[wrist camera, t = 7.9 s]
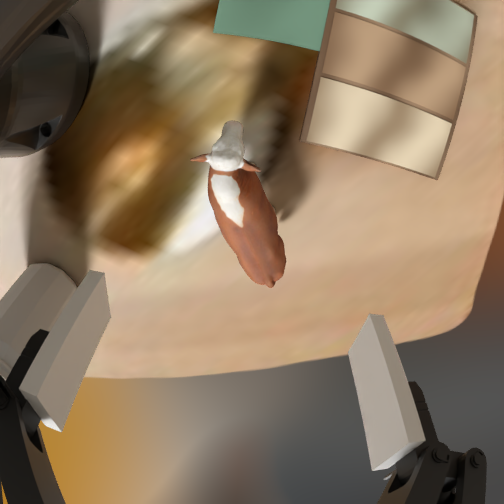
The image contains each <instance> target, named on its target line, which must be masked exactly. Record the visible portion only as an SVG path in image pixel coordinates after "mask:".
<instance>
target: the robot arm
mask: <svg viewBox="0 0 504 504" xmlns="http://www.w3.org/2000/svg"><path fill="white" fill-rule="evenodd" d="M77 1H79V0H0V158H6V157H23V156H27V155H30V154H33V153H35V152H37V151H39V150H41V149H43V148H45V147H47V146H49V145H51V144H52V143H54V142H55V141H56V140H58V139H59V138H60V137H61V136H62V135H63V134H64V133H65V132H66V130H67V129H68V128H69V127H70V125H71V124H72V122H73V121H74V119H75V117H76V115H77V114H78V111H79V109H80V107H81V105H82V102H83V99H84V96H85V93H86V88H87V84H88V77H89V52H88V46H87V42H86V38H85V36H84V33H83V31H82V29H81V27H80V26H79V24H78V23H77V21H76V20H75V19H74V18H73V17H72V16H71V15H69V14H68V13H67V12H65V11H67V10H68V9H69V8H70V7H71V6H72V5H74V4H75V3H76V2H77ZM110 318H111V314H110V308H109V302H108V295H107V288H106V281H105V273H102V272H97V271H93V270H89V272H88V273H87V275H86V276H85V278H84V279H83V281H82V282H81V284H80V285H79V286H78V288H77V289H76V291H75V293H74V294H73V296H72V297H71V299H70V300H69V302H68V303H67V305H66V306H65V308H64V310H63V311H62V313H61V314H60V316H59V318H58V319H57V321H56V322H55V324H54V326H53V327H52V329H51V331H50V332H49V331H46V330H43V329H39V330H38V331H37V332H36V333H35V334H33V335H32V336H31V337H30V339H29V341H28V342H27V344H26V346H25V348H24V349H23V351H22V352H21V356H19V358H18V359H17V361H16V363H15V365H14V366H13V368H12V370H11V372H10V374H9V375H8V377H7V379H6V381H5V380H4V378H3V377H2V376H1V375H0V504H3V499H2V487H1V482H2V486H3V489H4V493H5V496H6V499H7V502H8V504H65V501H64V499H63V496H62V494H61V491H60V489H59V486H58V484H57V481H56V478H55V476H54V473H53V470H52V467H51V464H50V461H49V458H48V455H47V452H46V448H45V445H44V442H43V439H42V435H41V431H40V429H39V426H38V425H39V422H40V420H42V422H43V423H44V424H45V426H48V427H50V428H52V429H55V430H57V431H60V432H62V431H63V428H64V425H65V422H66V419H67V417H68V414H69V412H70V409H71V407H72V404H73V401H74V399H75V397H76V394H77V392H78V389H79V387H80V384H81V382H82V380H83V377H84V375H85V373H86V370H87V368H88V366H89V364H90V361H91V359H92V357H93V355H94V352H95V350H96V348H97V346H98V344H99V341H100V339H101V337H102V335H103V333H104V331H105V329H106V327H107V324H108V322H109V320H110ZM348 354H349V358H350V363H351V367H352V371H353V375H354V380H355V385H356V389H357V393H358V398H359V403H360V408H361V413H362V418H363V423H364V428H365V434H366V439H367V445H368V450H369V456H370V462H371V468H372V470H380V469H387V468H389V467H391V466H392V465H393V464H395V463H396V468H397V469H396V470H394V471H393V472H391V473H389V474H388V475H387V476H386V477H385V478H384V480H387V479H388V478H390V479H389V481H388V484H387V485H386V487H385V489H384V491H383V493H382V495H381V497H380V499H379V501H378V503H377V504H485V492H486V464H487V463H486V457H485V455H484V453H483V452H482V451H481V450H480V449H478V448H472V449H470V450H468V451H467V452H466V453H460V452H454V451H450V450H449V448H448V447H447V446H446V445H445V444H444V443H441V442H439V441H438V438H437V435H436V432H435V429H434V425H433V423H432V419H431V416H430V413H429V411H428V407H427V404H426V403H425V398H424V395H423V392H422V390H421V389H420V387H419V386H418V385H417V383H416V382H407V378H406V375H405V372H404V370H403V367H402V364H401V361H400V358H399V356H398V353H397V350H396V347H395V344H394V342H393V339H392V336H391V334H390V331H389V329H388V326H387V324H386V321H385V318H384V316H383V315H376V314H369V315H368V317H367V319H366V321H365V323H364V325H363V327H362V328H361V330H360V332H359V334H358V336H357V337H356V339H355V341H354V343H353V344H352V346H351V348H350V350H349V351H348ZM455 488H456V493H455Z"/></svg>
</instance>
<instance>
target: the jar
mask: <svg viewBox="0 0 504 504" xmlns="http://www.w3.org/2000/svg"><path fill="white" fill-rule="evenodd" d="M76 289H77V286H76V284H75V282H74V281H73V280H72V279H71V278H70V277H69V276H68V275H67V274H66V273H65V272H64V271H63V270H61V269H59V268H57V267H55V266H53V265H51V264H46V263H41V264H30V265H29V267H28V268H27V269H26V270H25V271H24V272H23V274H22V275H21V276H20V277H19V278H18V279H17V281H16V282H15V283H14V284H13V285H12V287H11V288H10V289H9V290H8V292H7V293H6V294H5V295H4V297H3V298H2V299H1V300H0V375H1V376H2V377H3V378H4V380H5V381H6V379H7V377H8V375H9V374H10V372H11V370H12V368H13V366H14V365H15V363H16V361H17V359H18V358H19V356H21V352H22V351H23V349H24V348H25V346H26V344H27V342H28V341H29V339H30V337H31V336H32V335H33V334H35V333H36V332H37V331H38V330H39V329H43V330H46V331H49V332H50V331H51V329H52V327H53V326H54V324H55V322H56V321H57V319H58V318H59V316H60V314H61V313H62V311H63V310H64V308H65V306H66V305H67V303H68V302H69V300H70V299H71V297H72V296H73V294H74V293H75V291H76Z"/></svg>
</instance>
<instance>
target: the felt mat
mask: <svg viewBox="0 0 504 504" xmlns="http://www.w3.org/2000/svg"><path fill="white" fill-rule="evenodd" d="M329 4H330V0H220V1H219V6H218V10H217V15H216V20H215V25H214V30H213V33H220V34H229V35H237V36H244V37H251V38H258V39H264V40H270V41H275V42H280V43H285V44H290V45H295V46H299V47H304V48H308V49H312V50H316V51H320V47H321V42H322V38H323V33H324V28H325V23H326V18H327V14H328V9H329Z"/></svg>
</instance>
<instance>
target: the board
mask: <svg viewBox="0 0 504 504" xmlns="http://www.w3.org/2000/svg"><path fill="white" fill-rule="evenodd" d="M476 24H477V15H475V14H473V13H472V12H470V11H469V10H467V9H466V8H464V7H462V6H461V5H459V4H457V3H456V2H454V1H452V0H330V4H329V9H328V14H327V18H326V23H325V28H324V33H323V38H322V42H321V47H320V51H319V54H318V58H317V63H316V68H315V72H314V77H313V81H312V86H311V91H310V95H309V100H308V104H307V108H306V113H305V117H304V122H303V126H302V131H301V135H300V139H299V141H300V142H304V143H308V144H313V145H317V146H322V147H326V148H330V149H334V150H338V151H342V152H346V153H350V154H354V155H357V156H361V157H365V158H368V159H372V160H375V161H379V162H382V163H386V164H389V165H392V166H396V167H399V168H402V169H405V170H408V171H411V172H414V173H417V174H420V175H423V176H426V177H429V178H432V179H435V180H438V178H439V175H440V172H441V170H442V167H443V164H444V161H445V158H446V155H447V151H448V148H449V145H450V142H451V139H452V135H453V132H454V128H455V125H456V121H457V118H458V114H459V110H460V106H461V102H462V98H463V94H464V90H465V86H466V81H467V77H468V72H469V67H470V62H471V56H472V51H473V45H474V38H475V31H476Z"/></svg>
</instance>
